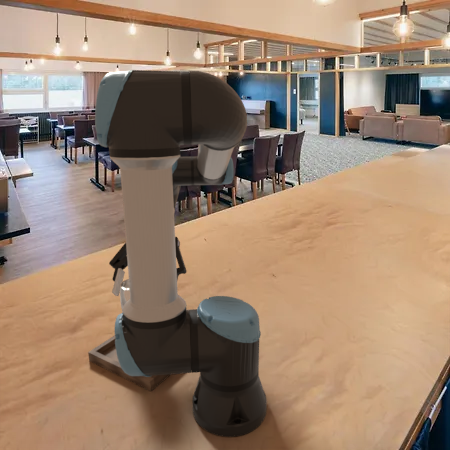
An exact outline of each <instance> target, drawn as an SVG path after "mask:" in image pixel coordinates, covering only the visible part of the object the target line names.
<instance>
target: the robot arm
mask: <svg viewBox="0 0 450 450" xmlns="http://www.w3.org/2000/svg"><path fill="white" fill-rule="evenodd" d="M95 99H96V101H95V109H94V110H95V112H94V113H95V114H94V116H95V117H94V118H95V119H94V123H95V131H96V139H97V143H98V144H99V145H100V146H101V147H104V148H108V153H109V158H110V160H111V161H112V162H113V163H114V164H116V166H118V168H119V169H120V181H121V194H122V195H121V196H122V197H121V198H122V208H123V220H124V221H123V223H124V234H125V235H124V236H125V242H124V243H123V245H122V246H121V247H120V249H119V250H118V251H117V252H116V253H115V255H114V256H113V258H111V260H110V261H109V265H110V266H111V267H112V269H114V271H113V276H112V281H113V282H114V283H113V285H112V286H113V287H112V290H111V293H112V294H113V295H114V296H116V297H120V284H121V282H123V281H124V276H125V274H126V272H125V269H126V268H127V270H128V279H129V287H130V299H129V300H128V301H127V302H126V303H125V305H124V306H123V312H121V313H119V314H118V315H117V316H116V317H115V322H114V336H115V346H116V352H117V357H118V361H119V364H120V366H121V368H122V370H123V371H124V372H125V373H126V374H128V375H129V376H145V377H151V376H154V375H168V374H170V375H179V374H180V375H182V374H191V373H192V374H193V373H199V377H198V381H197V383H196V386H195V389H194V392H193V395H192V400H191V402H192V404H191V405H192V415H193V417H194V420H195V421H196V423H197V424H198V425H199V426H200V427H201V428H202V429H204V430H205V431H206V432H208V433H211V434H213V435H215V436H220V437H225V438H226V437H238V436H239V437H240V436H244V435H247V434H249V433H251V432H252V431H255V430H257V428H259V427H260V425H261V424H263V421H264V420H265V418H266V415H267V402H268V401H267V395H266V393H265V390H264V388H263V384H262V380H261V379H260V374H259V372H260V371H259V368H260V366H259V365H260V339H261V329H260V316H259V314H258V312H257V310H256V309H255V308H254V307H253V306H252V305H251V304H250V303H248V302H246V301H244V300H243V299H240V298H237V297H234V296H229V295H228V296H226V295H215V296H210V297H208V298H204V299H203V300H202V301H200V303H199V304H198V306H197V308H195V309H187V301H186V300H185V299H184V298H183V297H182V296H180V294H178V293H179V292H178V280H179V277H180V275H181V274H183V275H186V274H187V272H188V271H187V269H186V268H187V267H186V264H185V262H184V258H183V256H182V252H181V249H180V247H181V246H180V245H181V242H180V240H179V238H178V237H177V236H176V228H175V227H176V225H175V211H176V207H177V202H178V198H179V193H180V190H181V186H223V185H230V184H232V183H233V180H234V171H235V169H234V160H233V158H232V154H233V151H234V148H235V147H237V146H238V145H239V144H240V143H241V141H242V139H243V138H244V136H245V133H246V131H247V126H248V115H247V111H246V107H245V105H244V103H243V102H244V101H243V100H242V99H241V97H240V95H238V93H237V91H235V90H234V88H233V87H231V86H230V85H229V84H228V82H226V81H224V80H223V79H221V78H220V77H218V76H216V75H214V74H211V73H209V72H204V71H199V70H185V71H184V70H182V71H181V70H151V69H150V70H144V69H143V70H142V69H140V70H139V69H138V70H137V69H130V70H122V71H121V70H120V71H111V72H108V73H106V74H105V75H103V77H102V78H101V80H100V81H99V85H98V89H97V94H96V98H95ZM192 145H198V147H197V156H181V146H192ZM177 264H178V267H177Z"/></svg>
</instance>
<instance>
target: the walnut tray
mask: <svg viewBox="0 0 450 450" xmlns="http://www.w3.org/2000/svg"><path fill="white" fill-rule="evenodd" d="M87 354H88V361H89V362H91V363H92V364H94V365H96V366H99V367H101V368H102V369H105V371H109V372H110V373H112V374H114V375H117V376H119V377H121V378H122V379H124V380H127V381H129V382H131V383H133V384H135V385H137V386H139V387H141V388H143V389H145V390H146V391H149V392H152V391H153V390H154V389H156V388H157V387H158V386H159V385H160V384H161V383H163V382H164V381H165V380H166V379H167V378H168V377H169V376H170V375H171V374H168V375H154V376H151V377H145V376H129V375H128V374H126V373H125V372H124V371H123V370H122V368H121V366H120V364H119V361H118V357H117V352H116V346H115V335H113V336H111V337H110V338H108V339H107V340H105V341H104V342H102V343H101V344H98V345H97V346H95V347H94V348H92V349H90V350H89V351H88V353H87Z"/></svg>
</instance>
